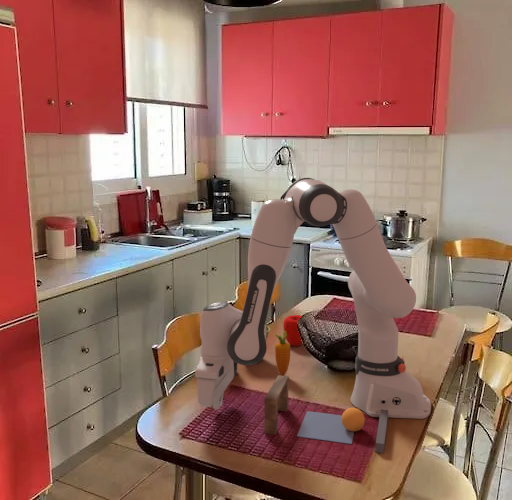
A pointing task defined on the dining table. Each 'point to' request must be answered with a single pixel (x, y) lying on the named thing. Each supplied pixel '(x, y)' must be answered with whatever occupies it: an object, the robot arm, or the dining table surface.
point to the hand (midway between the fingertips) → (217, 406)
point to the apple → (292, 330)
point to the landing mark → (325, 428)
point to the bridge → (275, 403)
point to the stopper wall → (381, 431)
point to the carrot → (282, 354)
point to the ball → (353, 419)
